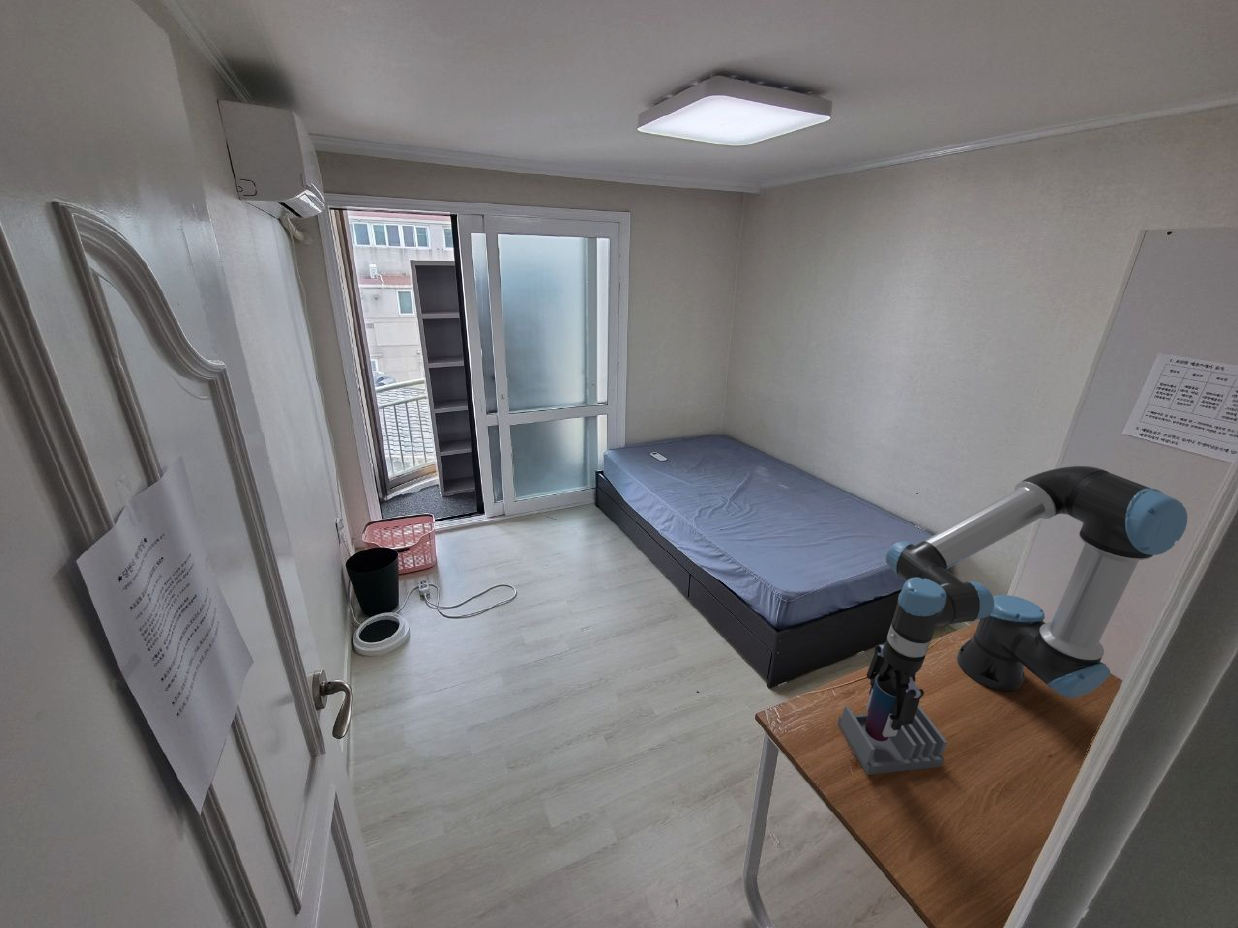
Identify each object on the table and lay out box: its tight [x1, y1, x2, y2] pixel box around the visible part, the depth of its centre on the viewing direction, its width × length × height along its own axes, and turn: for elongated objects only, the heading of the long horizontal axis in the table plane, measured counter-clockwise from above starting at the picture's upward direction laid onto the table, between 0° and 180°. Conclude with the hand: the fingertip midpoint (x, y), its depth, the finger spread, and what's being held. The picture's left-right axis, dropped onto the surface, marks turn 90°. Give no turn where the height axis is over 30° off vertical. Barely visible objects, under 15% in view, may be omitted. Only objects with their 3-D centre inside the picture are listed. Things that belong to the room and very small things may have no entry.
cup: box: [865, 674, 896, 741], centre depth 112 cm, size 7×7×15 cm
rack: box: [837, 704, 948, 776], centre depth 116 cm, size 18×13×7 cm
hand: (880, 721), depth 114 cm, fingers closed on cup, 6 cm apart
